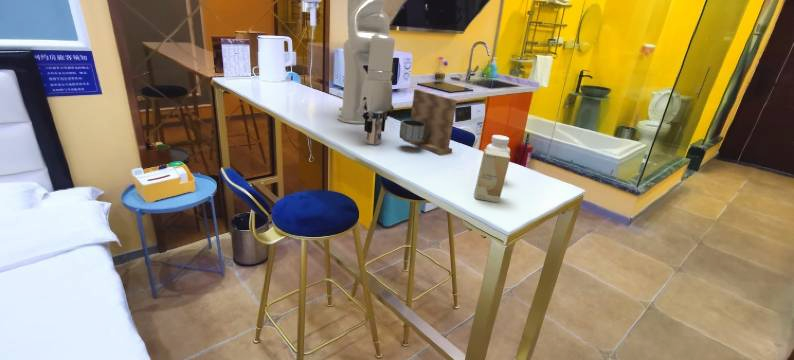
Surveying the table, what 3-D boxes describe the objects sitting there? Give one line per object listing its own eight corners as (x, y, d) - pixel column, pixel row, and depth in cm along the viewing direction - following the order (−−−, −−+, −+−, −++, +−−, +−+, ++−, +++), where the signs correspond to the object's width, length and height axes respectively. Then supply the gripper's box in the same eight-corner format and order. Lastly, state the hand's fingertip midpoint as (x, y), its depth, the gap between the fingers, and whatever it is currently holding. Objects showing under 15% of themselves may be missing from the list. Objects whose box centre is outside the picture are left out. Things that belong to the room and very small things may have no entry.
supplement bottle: (481, 173, 114) (490, 132, 110) (504, 179, 112) (514, 136, 108) (477, 180, 109) (487, 137, 104) (501, 186, 107) (511, 142, 102)
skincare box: (474, 199, 96) (483, 153, 92) (473, 192, 100) (483, 147, 96) (500, 203, 96) (511, 157, 91) (498, 196, 100) (509, 151, 95)
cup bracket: (383, 142, 132) (389, 90, 126) (414, 138, 142) (421, 89, 135) (420, 159, 120) (428, 102, 114) (451, 153, 130) (460, 100, 123)
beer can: (378, 146, 128) (381, 110, 123) (364, 144, 129) (367, 108, 124) (381, 142, 132) (385, 108, 128) (368, 140, 133) (371, 106, 128)
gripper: (391, 74, 130) (386, 126, 137) (350, 73, 119) (346, 130, 126) (406, 77, 125) (400, 132, 132) (365, 78, 114) (360, 137, 121)
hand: (374, 130), depth 129 cm, fingers closed on beer can, 4 cm apart
